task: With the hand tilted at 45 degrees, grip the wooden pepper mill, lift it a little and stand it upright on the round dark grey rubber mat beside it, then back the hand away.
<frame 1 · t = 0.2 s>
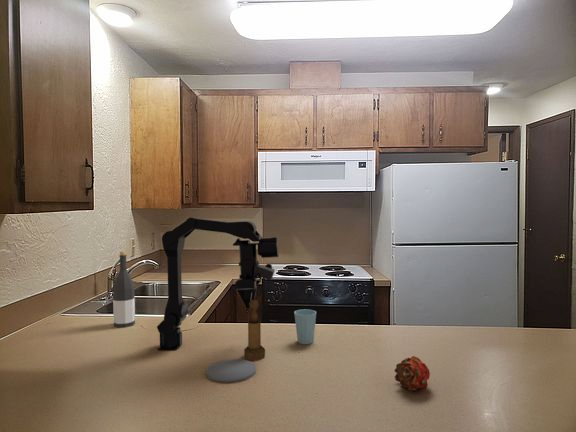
hand: (250, 304, 133), 15 cm above the worktop, tool pointing down, fingers open, 9 cm apart
wooden pepper mill: (254, 357, 126), on the worktop
wine bottle: (124, 325, 162), on the worktop
mat: (231, 371, 114), on the worktop
cup: (305, 342, 139), on the worktop
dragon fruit: (411, 387, 103), on the worktop
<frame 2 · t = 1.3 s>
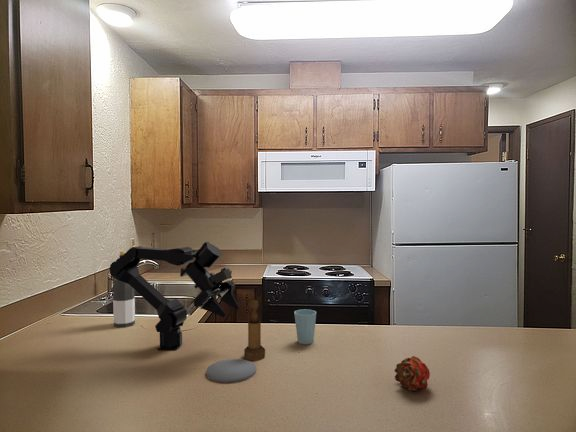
hand: (232, 312, 128), 13 cm above the worktop, tool tilted 45°, fingers open, 9 cm apart
nothing on the worktop moved.
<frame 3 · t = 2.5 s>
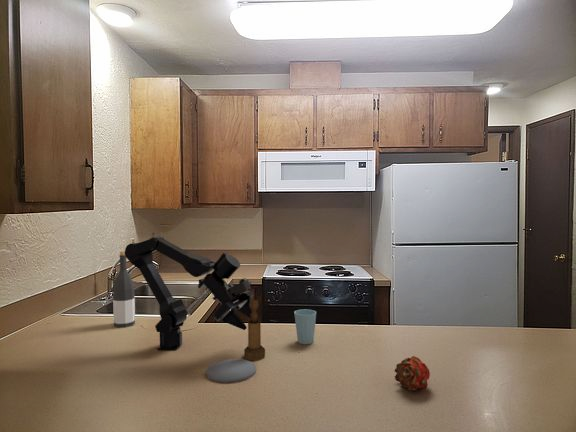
hand: (251, 324, 126), 10 cm above the worktop, tool tilted 45°, fingers open, 9 cm apart
nothing on the worktop moved.
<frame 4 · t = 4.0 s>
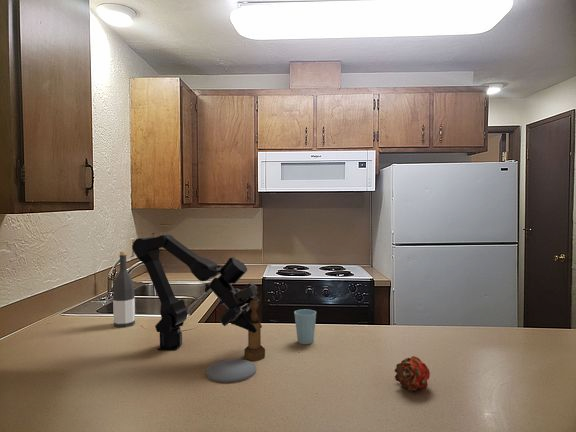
hand: (258, 329, 125), 9 cm above the worktop, tool tilted 45°, fingers closed on wooden pepper mill, 4 cm apart
wooden pepper mill: (254, 357, 126), on the worktop, touching gripper
everything else where it was.
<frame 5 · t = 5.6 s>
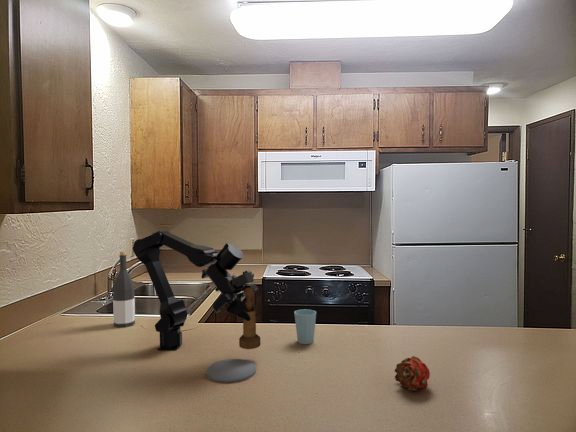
hand: (253, 318, 121), 13 cm above the worktop, tool tilted 45°, fingers closed on wooden pepper mill, 4 cm apart
wooden pepper mill: (249, 345, 122), point 4 cm above the worktop, touching gripper
everything else where it was.
when the fingers open (11 cm above the worktop, at t = 7.2 s): wooden pepper mill drops 1 cm, resting on mat.
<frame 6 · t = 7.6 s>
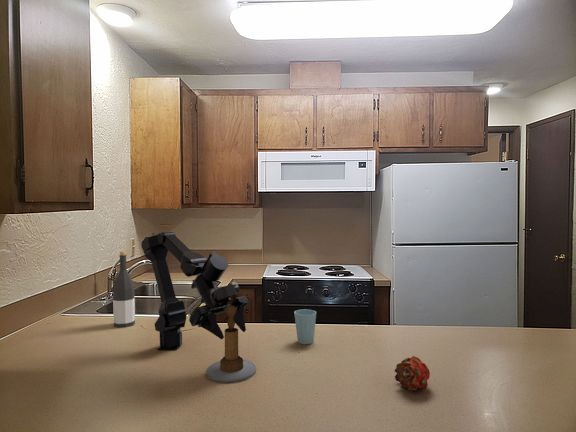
hand: (234, 334, 113), 11 cm above the worktop, tool tilted 45°, fingers open, 8 cm apart
wooden pepper mill: (231, 368, 114), point 1 cm above the worktop, touching mat
everything else where it was.
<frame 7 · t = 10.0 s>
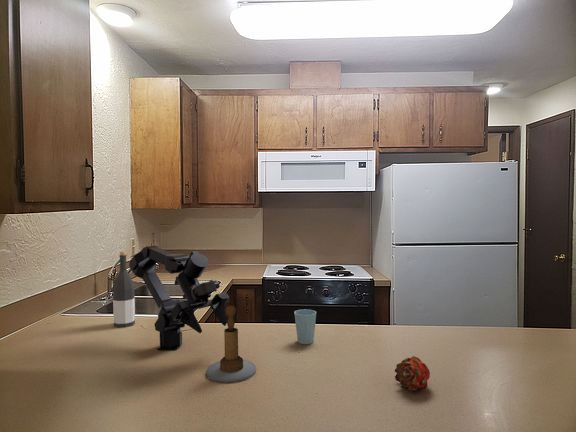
hand: (213, 328, 119), 11 cm above the worktop, tool tilted 45°, fingers open, 9 cm apart
nothing on the worktop moved.
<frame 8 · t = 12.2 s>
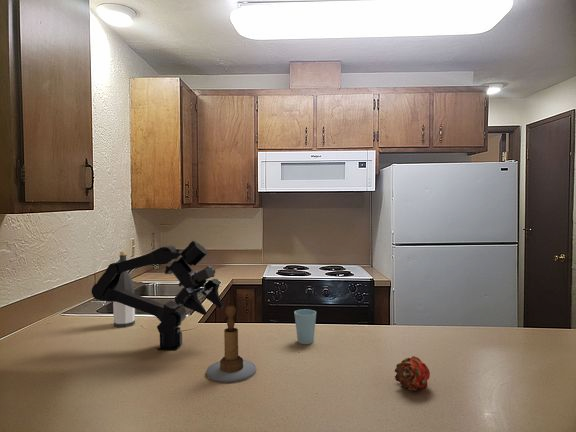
hand: (214, 310, 130), 14 cm above the worktop, tool tilted 45°, fingers open, 9 cm apart
nothing on the worktop moved.
at the end: wooden pepper mill inside the target area on the mat (0.3 cm from its centre), point 0.8 cm above the mat's base; wooden pepper mill tilted 0°; the gripper is holding nothing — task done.
